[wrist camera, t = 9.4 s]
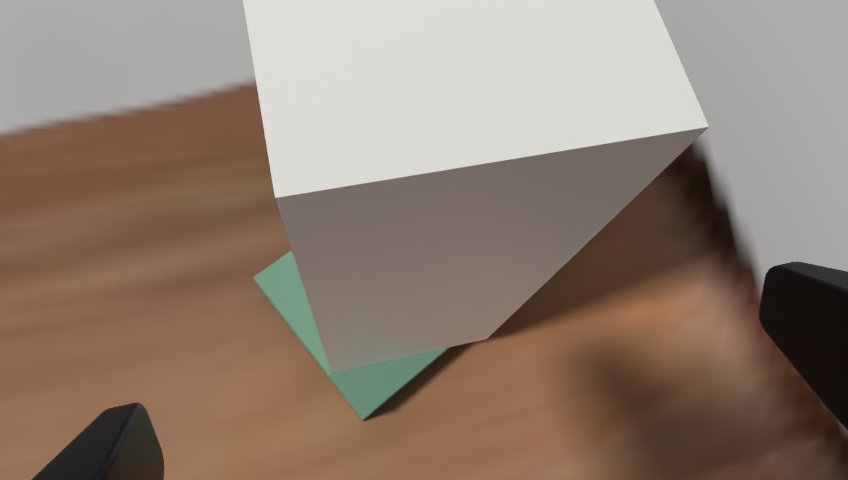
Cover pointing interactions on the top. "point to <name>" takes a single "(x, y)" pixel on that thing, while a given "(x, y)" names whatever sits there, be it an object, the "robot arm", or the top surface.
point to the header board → (357, 385)
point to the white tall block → (455, 152)
